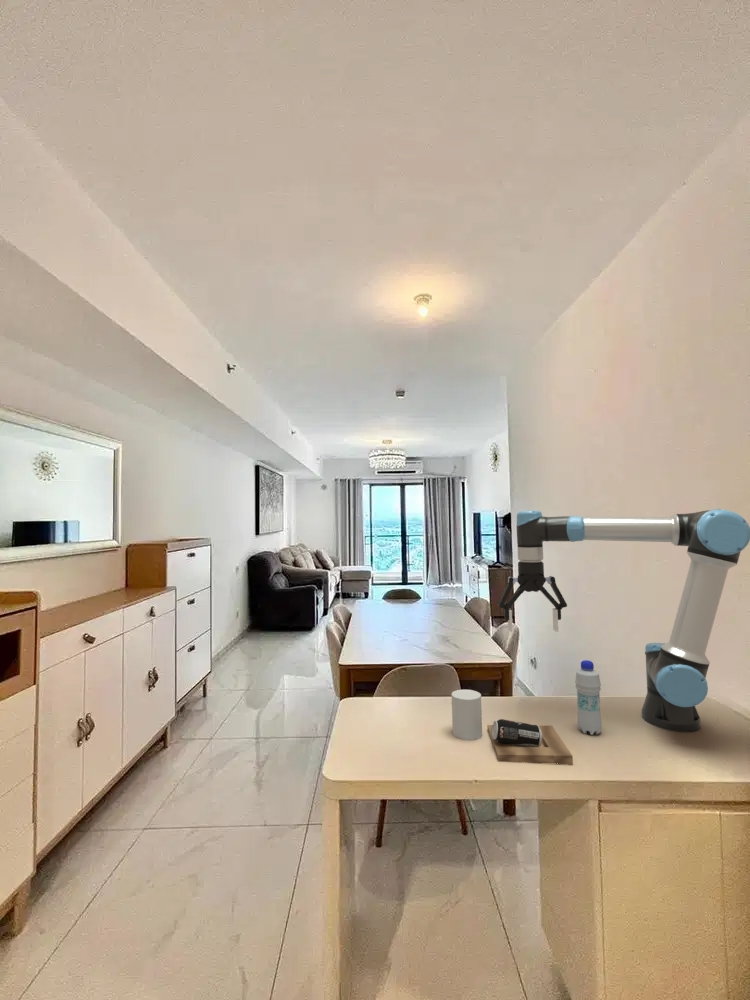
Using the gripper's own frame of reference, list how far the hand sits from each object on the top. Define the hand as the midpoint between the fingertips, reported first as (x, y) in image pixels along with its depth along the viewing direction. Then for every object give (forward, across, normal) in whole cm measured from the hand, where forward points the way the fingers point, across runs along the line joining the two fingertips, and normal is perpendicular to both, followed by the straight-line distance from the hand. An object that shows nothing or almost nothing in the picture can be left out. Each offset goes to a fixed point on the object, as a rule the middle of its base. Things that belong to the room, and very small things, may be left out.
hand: (533, 630), depth 150 cm
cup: (+27, +22, +13) cm, 37 cm away
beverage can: (+23, +4, +20) cm, 31 cm away
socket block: (+27, +7, +19) cm, 34 cm away
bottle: (+27, -13, +8) cm, 31 cm away
